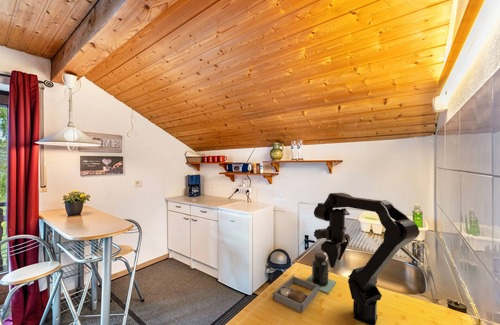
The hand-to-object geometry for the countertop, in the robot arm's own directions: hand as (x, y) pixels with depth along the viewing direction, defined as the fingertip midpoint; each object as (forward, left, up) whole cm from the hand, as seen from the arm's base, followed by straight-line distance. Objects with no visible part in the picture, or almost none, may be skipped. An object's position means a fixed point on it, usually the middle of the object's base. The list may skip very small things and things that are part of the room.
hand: (335, 263), depth 88 cm
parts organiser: (+12, +9, -13) cm, 20 cm away
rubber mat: (+8, -5, -13) cm, 16 cm away
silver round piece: (+14, +14, -13) cm, 24 cm away
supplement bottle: (+8, -5, -13) cm, 16 cm away
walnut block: (+9, +14, -13) cm, 21 cm away
